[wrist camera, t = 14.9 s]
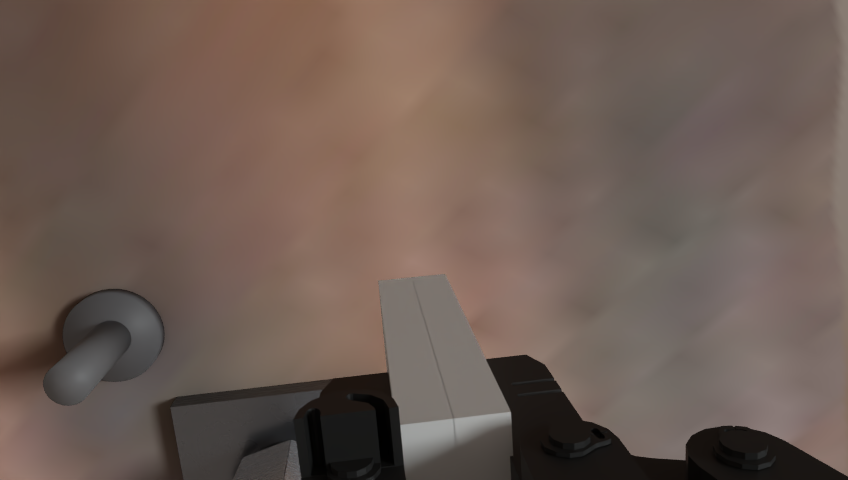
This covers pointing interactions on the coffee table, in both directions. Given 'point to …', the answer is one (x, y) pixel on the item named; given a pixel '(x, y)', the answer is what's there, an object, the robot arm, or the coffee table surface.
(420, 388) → the robot arm
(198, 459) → the square peg base
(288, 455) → the grey octagonal holder
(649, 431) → the coffee table surface
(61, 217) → the coffee table surface
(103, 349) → the stand
